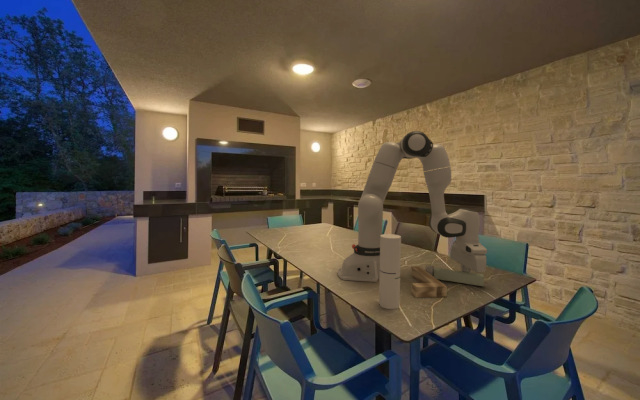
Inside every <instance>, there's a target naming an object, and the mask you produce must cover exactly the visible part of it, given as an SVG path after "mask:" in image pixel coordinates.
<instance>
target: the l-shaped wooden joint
mask: <svg viewBox="0 0 640 400" xmlns="http://www.w3.org/2000/svg"><path fill="white" fill-rule="evenodd" d="M410 269H411V272H410V273H411V274H410V275H411V276H412V277H413V278H414V279H416V281H418V282H412V283H411V294H412V295H413V296H414V297H415V298H447V295H448V293H447V292H448V287H447V285H445V283H442V282H441V281H440V279H436V278H434V277H433V276H432V275H430V274H429V273H428V272H426V269H424V268H423V267H421V266H416V265H415V266H414V265H413V266H411V268H410Z"/></svg>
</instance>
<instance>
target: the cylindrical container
mask: <svg viewBox="0 0 640 400" xmlns="http://www.w3.org/2000/svg"><path fill="white" fill-rule="evenodd" d="M401 248H402V236H401V235H398V234H393V233H386V234H384V233H382V235H380V279H379V280H378V281H379V288H378V289H379V291H378V298H379V299H378V305H379V304H380V305H379V306H380V307H382V308H383V309H387V310H397V309H398V308H400V302H401V301H400V300H401V263H402V262H401V261H402V260H401V258H402V257H401V255H402V251H401V250H402V249H401Z"/></svg>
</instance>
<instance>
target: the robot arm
mask: <svg viewBox="0 0 640 400" xmlns="http://www.w3.org/2000/svg"><path fill="white" fill-rule="evenodd" d="M415 158H416V159H418V160H420V162H421V165H422V169H423V176H424V180H425V181H424V182H425V183H426V187H427V191H428V196H429V205H430V217H429V220H428V225H429V228H430V229H431V231H432V232H434V233H435V234H438V235H439V236H441V237H444V238H447V239H449V238H455V240H454V241H453V242H452V245H451V248H450V253H449V257H450V260H453V261H454V262H456V263H458V264H460V269H461V270H462V272H469V273H471V271H473V272H474V273H485V271H486V269H487V256H486V255H487V254H488V249H487V248H486V246H484V245H482V243H481V242H480V237H479V232H480V228H481V227H480V226H481V222H480V221H481V220H480V214H479V212H477V211H476V210H474V209H470V208H465V207H463V208H462V207H461V208H459V209H458V210H456V211H455V212H451V213H449V214H448V212H447V211H446V204H445V203H446V202H445V191H446V189H447V188H448V186H449V185H450V184H451V183H452V168H451V162H450V159H449V155H448V153H447V150H446V147H444V146H443V145H442V144H439V143H433V141H432V140H431V139H430V138H429V137H428V136H427V135H426V133H424V132H423V131H420V130H413V131H410V132H409V133H407V134H405V135H404V136H403V137H402V139H401V140H399V142H395V141H385V142H384V143H383V144H381V146H380V148H379V149H378V151H377V154H376V155H375V157H374V161H373V162H372V166H371V169H370V172H369V174H368V177H367V180H366V183H365V185H364V188H363V190H362V194H361V197H360V199H359V201H358V203H357V204H358V205H357V222H358V227H357V228H358V229H357V231H358V232H357V233H358V234H357V235H358V236H357V237H358V238H357V239H358V240H357V242H358V244H357V245H356V244H355V243H353V244H351V248H352V249H353V253H351V254H350V255H349V256H347V257H345V258H344V259H343V262H342V265H341V267H339V268H338V269H337V272H336V275H337V276H338V278H339V279H340V280H344V281H354V282H355V281H356V282H371V283H373V282H374V283H376V282H378V281H380V235H383V222H384V221H383V220H384V219H383V218H384V217H383V215H384V202H385V200H386V197H387V194H388V192H389V190H390V188H391V186H392V183H393V180H394V178H395V175H396V172H397V170H398V167H399V165H400V163H401V161H402V160H403V159H406V160H407V159H408V160H409V159H415Z"/></svg>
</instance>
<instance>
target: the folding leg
mask: <svg viewBox="0 0 640 400" xmlns="http://www.w3.org/2000/svg"><path fill="white" fill-rule="evenodd" d="M425 271H426V272H428V273H429V274H430V275H432V276H433V277H434V278H436V279H437V280H439V281H440V280H441V281H447V282H455V283H459V284H466V285H471V286H472V285H473V286H477V287H478V286H479V287H484V284H485V283H484V282H485V281H484V280H485V276H484V274H482V273H477V272H462V271H461V270H453V269H446V268H441V267H435V266H434V265H431V264H430V265H429V264H427V265H425Z"/></svg>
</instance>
